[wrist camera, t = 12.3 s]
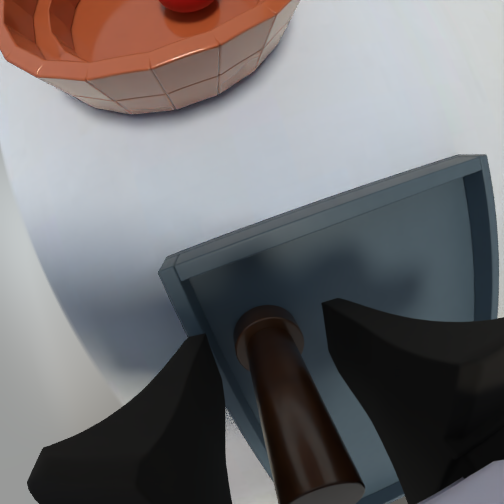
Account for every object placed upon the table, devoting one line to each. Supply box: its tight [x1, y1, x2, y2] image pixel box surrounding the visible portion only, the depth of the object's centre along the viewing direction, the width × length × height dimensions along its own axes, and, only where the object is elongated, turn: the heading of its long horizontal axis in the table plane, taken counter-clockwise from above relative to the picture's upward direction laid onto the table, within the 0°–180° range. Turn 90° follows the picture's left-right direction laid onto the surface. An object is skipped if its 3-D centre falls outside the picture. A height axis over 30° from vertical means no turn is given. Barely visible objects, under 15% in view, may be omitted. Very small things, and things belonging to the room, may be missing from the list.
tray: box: [158, 155, 499, 504], centre depth 14 cm, size 14×23×2 cm, turn 19°
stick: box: [233, 305, 365, 504], centre depth 8 cm, size 3×3×8 cm
